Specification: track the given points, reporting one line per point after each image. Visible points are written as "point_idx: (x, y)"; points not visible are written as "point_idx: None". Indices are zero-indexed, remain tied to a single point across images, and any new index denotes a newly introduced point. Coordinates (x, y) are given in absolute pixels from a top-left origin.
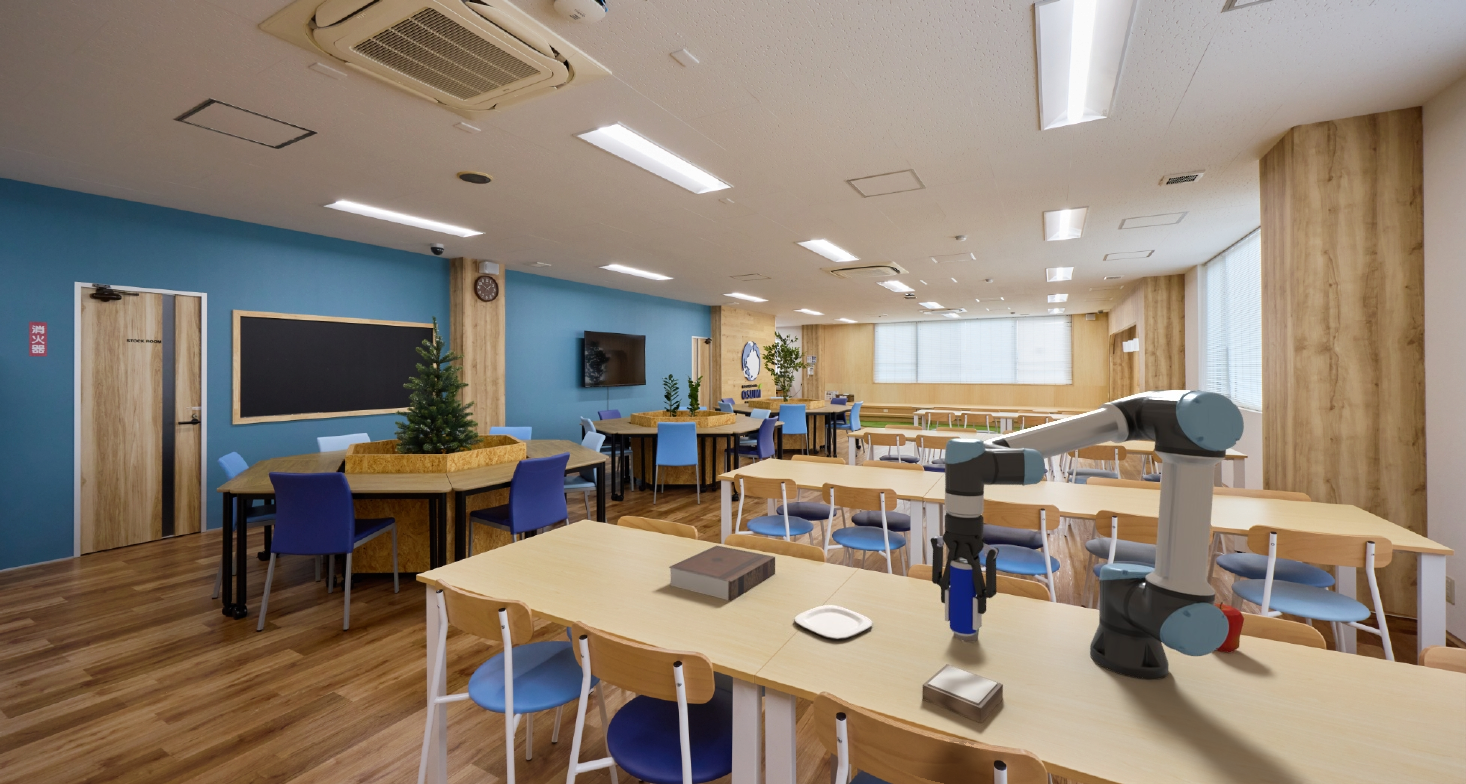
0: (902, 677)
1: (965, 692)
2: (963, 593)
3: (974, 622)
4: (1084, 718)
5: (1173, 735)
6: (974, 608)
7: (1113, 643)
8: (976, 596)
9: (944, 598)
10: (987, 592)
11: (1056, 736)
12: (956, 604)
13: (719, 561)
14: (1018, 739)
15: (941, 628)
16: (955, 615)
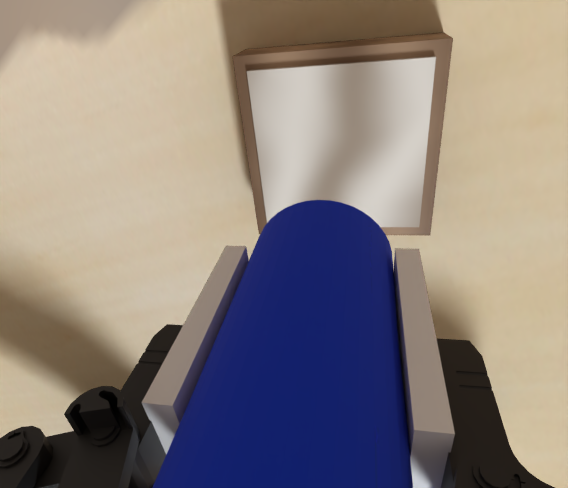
0: (557, 112)
1: (306, 104)
2: (219, 413)
3: (225, 271)
4: (124, 252)
5: (26, 294)
6: (193, 334)
7: None
8: (126, 418)
9: (453, 372)
10: (8, 476)
11: (111, 144)
12: (309, 313)
13: None
14: (147, 56)
15: (525, 420)
16: (326, 256)
